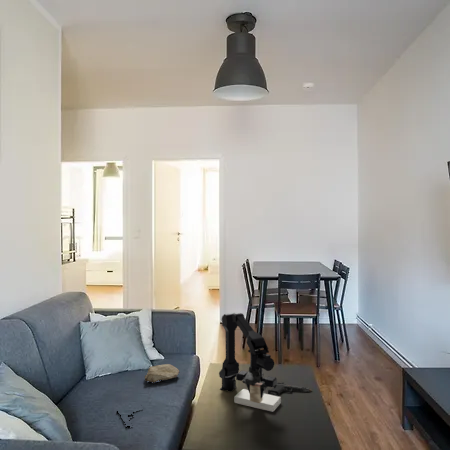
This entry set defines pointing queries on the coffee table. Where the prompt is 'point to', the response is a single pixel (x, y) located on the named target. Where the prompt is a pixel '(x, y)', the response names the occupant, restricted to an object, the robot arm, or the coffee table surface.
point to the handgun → (286, 389)
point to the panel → (266, 404)
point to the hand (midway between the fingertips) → (256, 396)
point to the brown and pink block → (256, 393)
